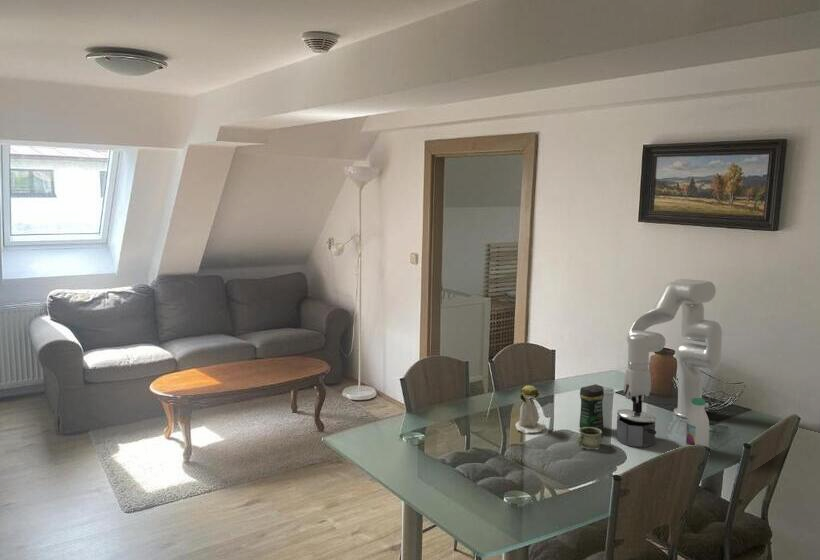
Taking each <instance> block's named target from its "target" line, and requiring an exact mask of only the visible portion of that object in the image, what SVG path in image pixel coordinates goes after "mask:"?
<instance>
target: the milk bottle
mask: <svg viewBox="0 0 820 560" xmlns="http://www.w3.org/2000/svg"><path fill="white" fill-rule="evenodd" d="M705 403H706V400H705V399H704V398H693V399H692V409H691V411H690V413H689V415H688V418H686V431H685V432H686V435H685V436H686V439H685V442H686V443H685V444H686V445H695V444H700V445H704V446H707V447H709V446H710V445H709V444H710V420H709V417H708V414H707V411H706V408H704V406H705ZM686 445H685V446H686ZM709 448H710V447H709Z"/></svg>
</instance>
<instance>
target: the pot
mask: <svg viewBox="0 0 820 560" xmlns="http://www.w3.org/2000/svg"><path fill="white" fill-rule="evenodd" d="M616 417H617V418H616V440H617V442H619V443H620V444H622V445H624V446H627V447H632V448H648V447H652V446H654V445H655V444H656V434H657V431H656V421H655V422H653V423H643V422H636V421H631V420H628V419H625V418H622V417H620V416H618V415H617V416H616Z"/></svg>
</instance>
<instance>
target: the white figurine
mask: <svg viewBox="0 0 820 560" xmlns="http://www.w3.org/2000/svg"><path fill="white" fill-rule="evenodd" d="M519 394H520V399H521V401H522V404H521V406H520V408H519V420H518V421H517V422H515V429H516V430H517V431H520V432H521V433H522V434H529V433H530V434H531V433H532V434H533V433H542V432H543V430H545V429H546V426H547V424H546V423H544V421H542V422H541V423H539V419H540V413H539V412H538V408H537V406H536V403H535V402H534V400H537V399H539V398H540V397H541V395H540V392H539V391H538V389H537V388H536V387H535V386H533V385H525V386H523V388H521V390H520V392H519Z"/></svg>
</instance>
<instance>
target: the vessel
mask: <svg viewBox="0 0 820 560" xmlns="http://www.w3.org/2000/svg"><path fill="white" fill-rule="evenodd" d="M578 431H579V435H578V436H577V443H578V447H581V446H583V447H585V448H587V449H586V450H589V449H596V448H599V447H600V448H601V444H602V443H603V438H604V433H603V432H602V429H601V430H600V429H598V428H594V427H583V428H580V427H579V430H578ZM600 448H599V449H600ZM596 450H597V449H596Z"/></svg>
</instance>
